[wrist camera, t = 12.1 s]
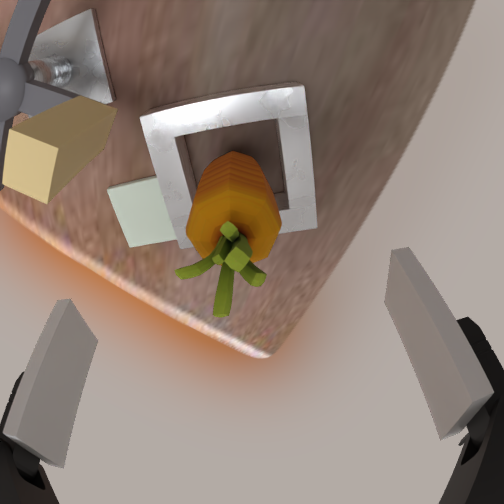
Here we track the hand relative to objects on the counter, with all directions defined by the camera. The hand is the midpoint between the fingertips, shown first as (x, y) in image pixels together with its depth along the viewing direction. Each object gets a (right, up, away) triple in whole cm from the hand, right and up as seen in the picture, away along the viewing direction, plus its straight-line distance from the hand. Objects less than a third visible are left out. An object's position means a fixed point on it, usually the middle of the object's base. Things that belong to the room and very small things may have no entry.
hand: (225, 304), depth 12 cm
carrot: (0, +9, +13) cm, 16 cm away
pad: (-8, +6, +15) cm, 17 cm away
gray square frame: (0, +9, +12) cm, 15 cm away
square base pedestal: (-14, +16, +7) cm, 22 cm away
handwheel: (-14, +12, +1) cm, 18 cm away
